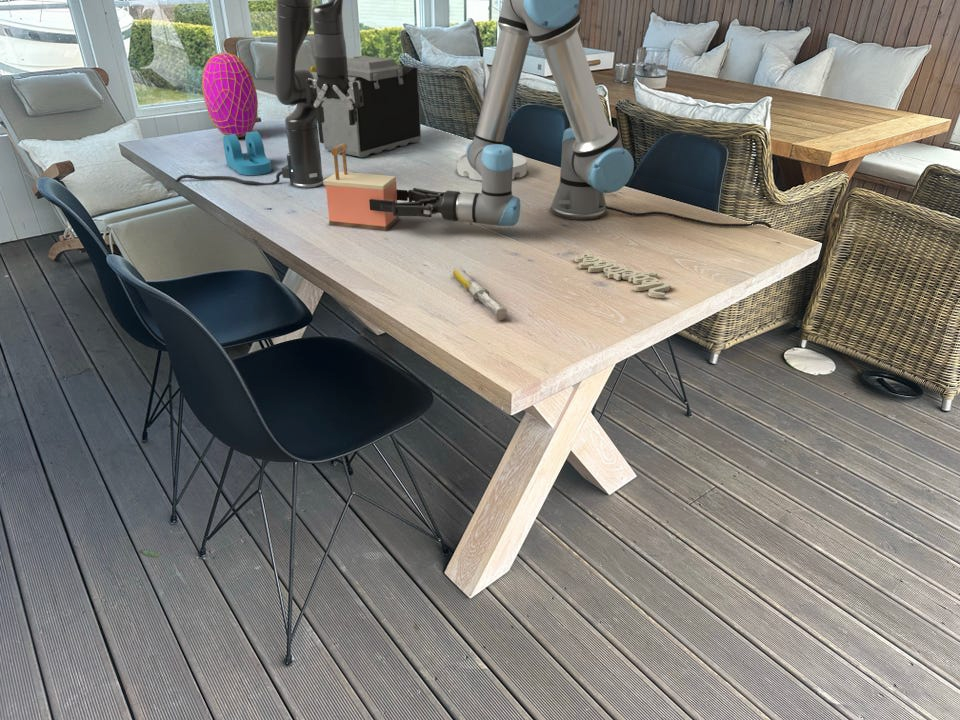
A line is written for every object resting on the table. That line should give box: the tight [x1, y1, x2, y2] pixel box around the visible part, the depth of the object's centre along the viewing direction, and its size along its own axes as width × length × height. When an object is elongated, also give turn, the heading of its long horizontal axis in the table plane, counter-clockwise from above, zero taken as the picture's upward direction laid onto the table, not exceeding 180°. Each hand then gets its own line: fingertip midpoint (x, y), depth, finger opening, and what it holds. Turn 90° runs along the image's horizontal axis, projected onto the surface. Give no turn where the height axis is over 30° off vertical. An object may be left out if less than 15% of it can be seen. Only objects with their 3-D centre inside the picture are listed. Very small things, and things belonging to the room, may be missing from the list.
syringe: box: [452, 266, 509, 321], centre depth 145 cm, size 25×4×3 cm, turn 21°
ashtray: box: [456, 152, 528, 182], centre depth 228 cm, size 23×23×4 cm
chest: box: [325, 180, 399, 232], centre depth 182 cm, size 16×9×11 cm, turn 75°
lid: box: [323, 143, 397, 190], centre depth 177 cm, size 16×9×9 cm, turn 75°
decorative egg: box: [201, 52, 259, 139], centre depth 260 cm, size 19×19×30 cm
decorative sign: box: [574, 252, 671, 299], centre depth 155 cm, size 26×1×10 cm
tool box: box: [311, 55, 422, 159], centre depth 250 cm, size 37×22×30 cm, turn 144°
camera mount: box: [222, 131, 272, 176], centre depth 226 cm, size 18×10×10 cm, turn 35°
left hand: (337, 123), depth 173 cm, fingers open, 8 cm apart
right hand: (377, 198), depth 180 cm, fingers closed on chest, 9 cm apart
